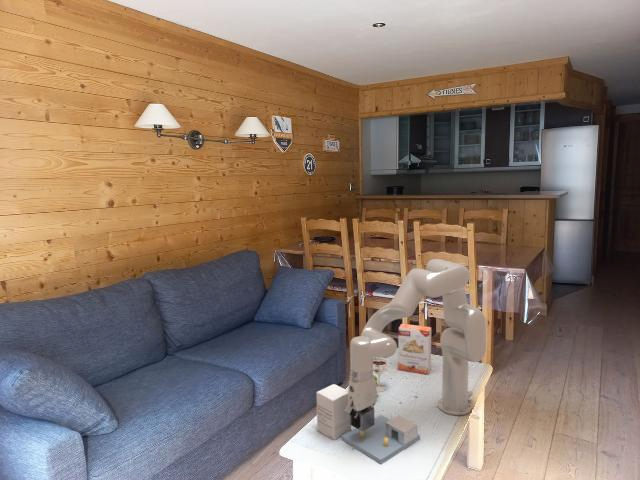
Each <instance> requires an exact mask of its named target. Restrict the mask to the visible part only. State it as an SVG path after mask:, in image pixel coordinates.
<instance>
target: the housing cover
mask: <svg viewBox="0 0 640 480" xmlns="http://www.w3.org/2000/svg"><path fill="white" fill-rule="evenodd" d="M397 434H398V442H400V443H401V444H403V445H405V444H407V443H408V442H410V441H411V440H413V439H414V438H416V437H417V434H418V424H417V423H415V422H413V421H411V420H409V419H408V418H405V417H403V416H401V415H397V416H395V417H394V418H392V419H390V421H388V422H386V435H387V436H389V437H391V438H392V437H394V436H395V435H397Z"/></svg>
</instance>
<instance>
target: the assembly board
mask: <svg viewBox="0 0 640 480" xmlns="http://www.w3.org/2000/svg"><path fill="white" fill-rule="evenodd" d="M390 420H391V419H390V418H388V417H386V416H384V415H382V414H379V415H377V416H376V417H374V425H373V426H372V427H370V428H368V429H366V430H364V431H360V430H358V429H357V428H355V427H354V428H353V429H351V431H349V432H347V433H346V434H344V435H342V436H341V441H343V442H345V443H346V444H348V445H350V446H351V447H353V448H354V449H356V450H358V451H359V452H360V453H362V454H364V455H365V456H367V457H368V458H369V459H372V460H373V461H375V462H376V463H378V464H379V465H382V464H383V463H385V462H387V461H389V460H390V459H391V458H393V457H394V456H396V455H397V454H399V453H401V452H402V451H404V450H406V449H407V448H409V447H410V446H411V445H413V444H414V443H416V442H418V441H419V440H420V439H421V435H420V434H418V433H417V437H416V438H414V439H413V440H411V441H410V442H408V443H407V444H405V445H403V444H401V443H400V442H398V434H397V435H395V436H394V437H392V438H391V437H389V436H387V435H386V422H388V421H390Z"/></svg>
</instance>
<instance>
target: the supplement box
mask: <svg viewBox="0 0 640 480" xmlns="http://www.w3.org/2000/svg"><path fill="white" fill-rule="evenodd" d="M315 396H316V419H317V421H316V422H317V423H316V426H317V431H318V432H319V433H322V434H323V435H325V436H326V437H328V438H330V439H332V440H334V441H335V440H337V439H339V438H340V437H341V438H342V435H344V434H346V433H348V432H350V431H351V430H352V425H350V415H349V414H348V413H347V412H346V411H345V410H344V409H345V407H346V406H347V404H348V389H345V388H343V387H341V386H339V385H337V384H335V383H333V384H331V385H329V386H327V387H324V388H322V389H321V390H318V391H316V395H315Z"/></svg>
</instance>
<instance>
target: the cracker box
mask: <svg viewBox="0 0 640 480" xmlns="http://www.w3.org/2000/svg"><path fill="white" fill-rule="evenodd" d="M397 339H398V342H397V343H398V345H397V348H398V351H397V352H398V354H397V357H398V358H397V363H398V364H397V370H398V371H402V372H403V371H404V372H409V373H410V372H411V373H416V374H423V375H429V373H430V372H431V364H432V327H431V326H426V325H425V326H424V325H423V326H422V325H416V324H415V325H414V324H408V323H407V324H406V323H401V324H400V326H399V327H398V338H397Z"/></svg>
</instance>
